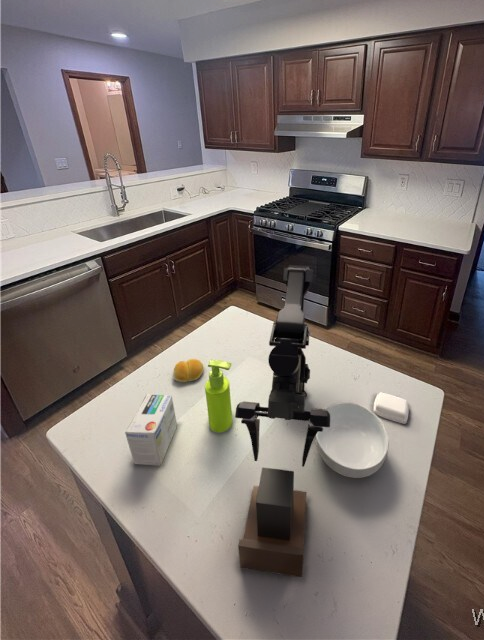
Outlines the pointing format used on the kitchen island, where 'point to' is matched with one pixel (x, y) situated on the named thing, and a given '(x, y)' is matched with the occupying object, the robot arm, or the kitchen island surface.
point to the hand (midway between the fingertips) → (279, 463)
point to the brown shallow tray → (274, 542)
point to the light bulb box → (152, 430)
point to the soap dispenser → (218, 397)
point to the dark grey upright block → (275, 503)
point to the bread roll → (188, 370)
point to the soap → (391, 407)
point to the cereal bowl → (353, 440)
